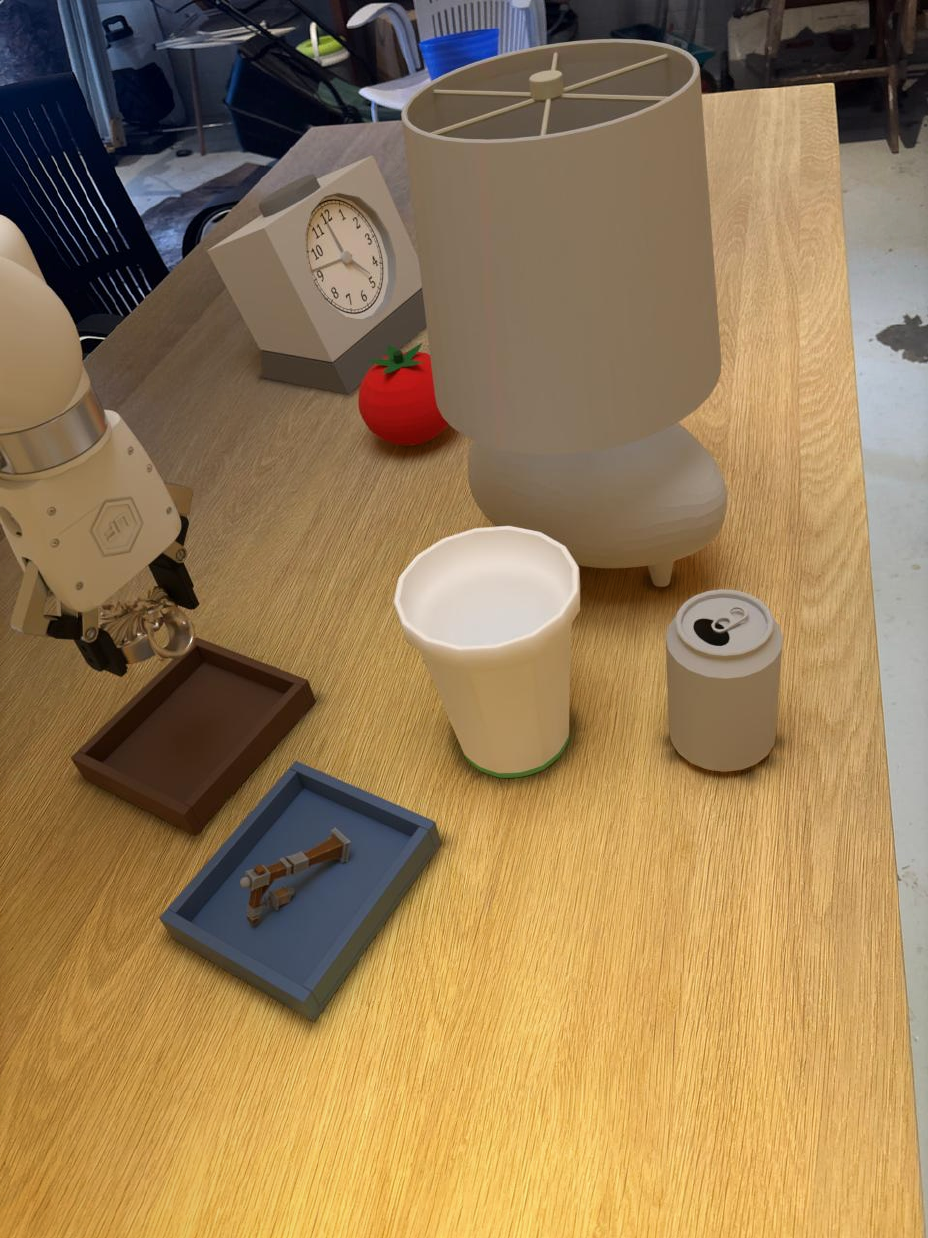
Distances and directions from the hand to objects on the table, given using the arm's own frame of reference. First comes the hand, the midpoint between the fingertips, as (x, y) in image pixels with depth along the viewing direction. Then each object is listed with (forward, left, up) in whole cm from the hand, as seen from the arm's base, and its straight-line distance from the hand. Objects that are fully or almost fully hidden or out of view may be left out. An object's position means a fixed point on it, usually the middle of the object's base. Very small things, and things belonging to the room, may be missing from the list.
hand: (147, 633), depth 75 cm
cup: (+11, -23, -12) cm, 28 cm away
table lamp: (+31, -20, -12) cm, 39 cm away
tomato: (+43, +8, -12) cm, 45 cm away
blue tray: (-7, -17, -12) cm, 22 cm away
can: (+17, -37, -12) cm, 42 cm away
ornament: (0, 0, -1) cm, 1 cm away
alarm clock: (+58, +29, -12) cm, 66 cm away
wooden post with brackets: (-7, -17, -11) cm, 22 cm away
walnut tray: (0, 0, -12) cm, 12 cm away
